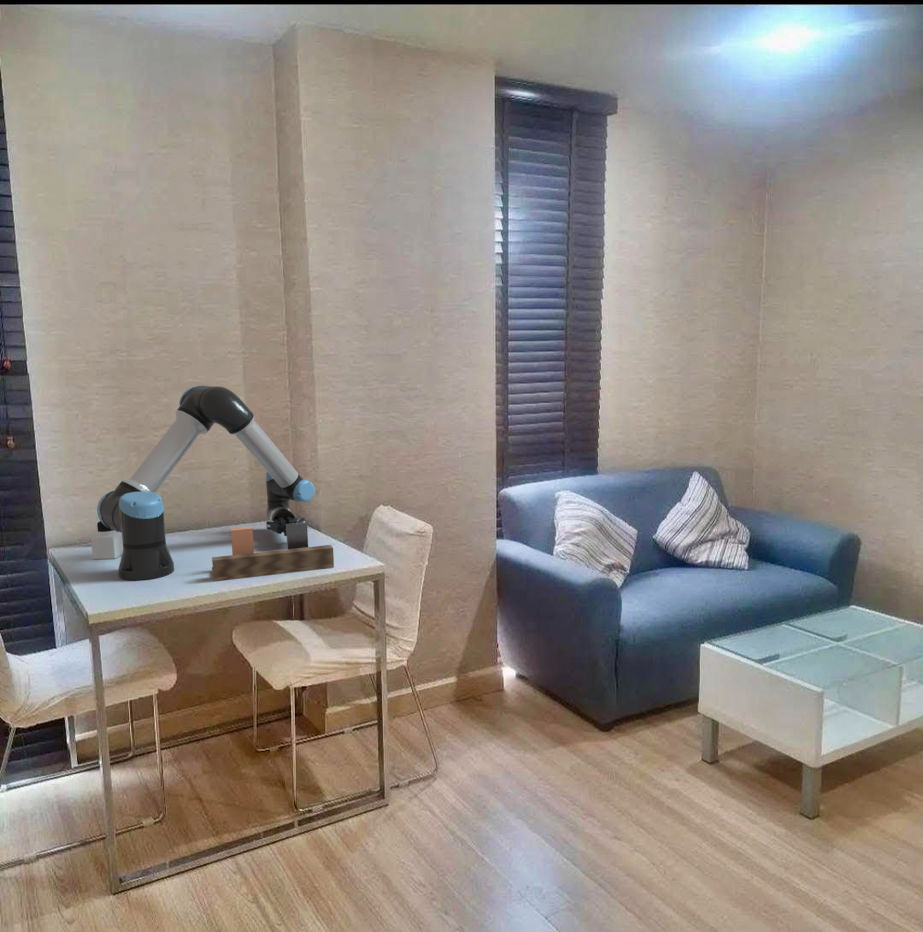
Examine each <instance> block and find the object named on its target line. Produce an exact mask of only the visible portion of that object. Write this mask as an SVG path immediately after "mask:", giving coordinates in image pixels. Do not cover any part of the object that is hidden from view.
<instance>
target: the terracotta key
mask: <svg viewBox="0 0 923 932" xmlns="http://www.w3.org/2000/svg"><path fill="white" fill-rule="evenodd" d="M253 529H254V528H253V527H252V526H250V527H249V526H248V527H239V528H238V527H237V528H230V536H231V537H230V538H231V550H232V551H231V553H232V554H231V555H239V554H248V553H255V547H254V534H253V532H254V530H253Z"/></svg>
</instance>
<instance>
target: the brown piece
mask: <svg viewBox="0 0 923 932" xmlns="http://www.w3.org/2000/svg"><path fill="white" fill-rule="evenodd" d="M334 558H335V557H334V547H333V546H332V545H331V544H325V545H315V546H308V547H305V548H295V549H278V550H269V551H259V552H254V553H248V554H239V555H233V554H231V555H221V556H212V557H211V561H212V567H211V573H212V577H213V582H220V581H221V582H222V581H228V580H238V579H247V578H255V577H257V578H258V577H264V576H272V575H274V576H275V575H280V574H288V573H289V574H290V573H298V572H306V571H308V572H309V571H315V570H316V571H317V570H322V569H323V570H324V569H333V568H335V561H334Z"/></svg>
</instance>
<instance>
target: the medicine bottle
mask: <svg viewBox="0 0 923 932" xmlns="http://www.w3.org/2000/svg"><path fill="white" fill-rule="evenodd" d="M95 533H96V534H95V535H94V536H92V537H91V539H90V541H91V551H92V554H91V555H92V559H93V560H115V559H117V558H119V557H120V556H122V553H123V540H122V533H121V532H117V531H114V530H111V529H110V528H108V527H106V526H105V525H104V524H103V523H102V522H101V521H100V519H98V520H96V521H95Z"/></svg>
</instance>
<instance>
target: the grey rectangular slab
mask: <svg viewBox="0 0 923 932" xmlns="http://www.w3.org/2000/svg"><path fill="white" fill-rule="evenodd" d="M286 534H287V536H286V548H287V549H295V548H305V547H309V539H308V538H309V535H308V522H307V521H305V522H301V523H290V524H286Z"/></svg>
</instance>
